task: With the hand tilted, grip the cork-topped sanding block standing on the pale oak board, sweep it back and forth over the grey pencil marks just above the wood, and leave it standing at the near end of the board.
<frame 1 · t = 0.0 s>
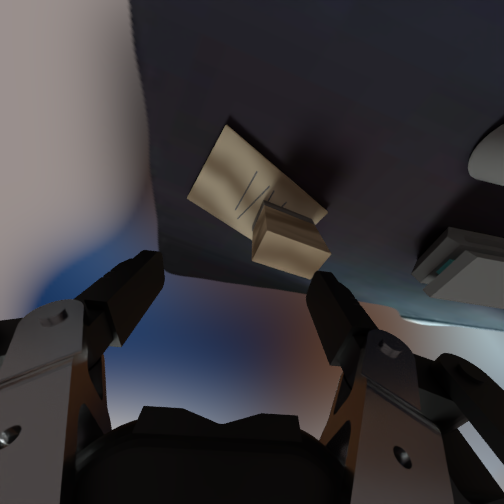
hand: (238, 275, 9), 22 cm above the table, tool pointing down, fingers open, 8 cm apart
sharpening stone: (456, 248, 35), on the table
sanding block: (281, 222, 31), point 1 cm above the table, touching board
board: (258, 202, 30), on the table
can: (493, 150, 25), on the table
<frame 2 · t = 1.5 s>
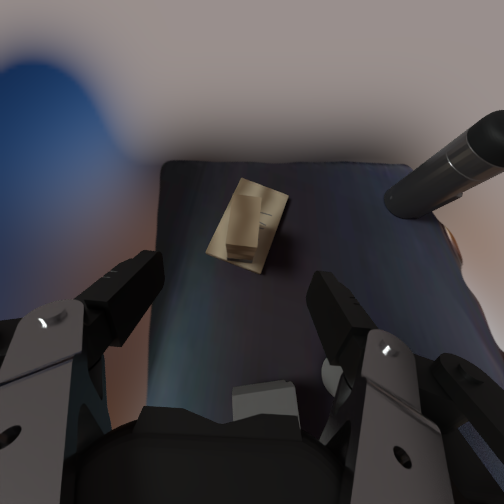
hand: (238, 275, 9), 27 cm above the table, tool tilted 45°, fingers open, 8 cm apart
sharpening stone: (261, 450, 29), on the table
sanding block: (242, 241, 38), point 1 cm above the table, touching board
board: (249, 224, 40), on the table
can: (337, 372, 33), on the table
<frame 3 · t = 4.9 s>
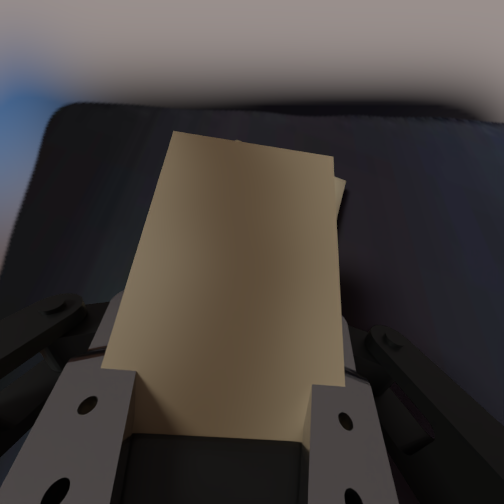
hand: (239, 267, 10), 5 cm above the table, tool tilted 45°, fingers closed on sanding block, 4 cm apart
sanding block: (235, 303, 13), point 1 cm above the table, touching board, gripper
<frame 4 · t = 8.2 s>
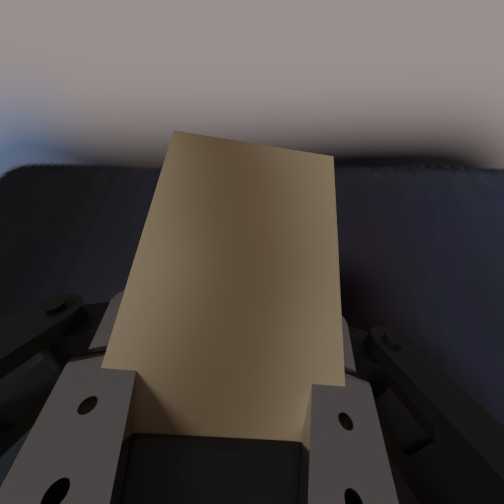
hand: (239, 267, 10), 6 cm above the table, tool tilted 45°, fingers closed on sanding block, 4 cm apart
sanding block: (235, 302, 13), point 2 cm above the table, touching gripper
when the fingers open (6 cm above the table, at t = 11.7 s): sanding block stays where it is, resting on board.
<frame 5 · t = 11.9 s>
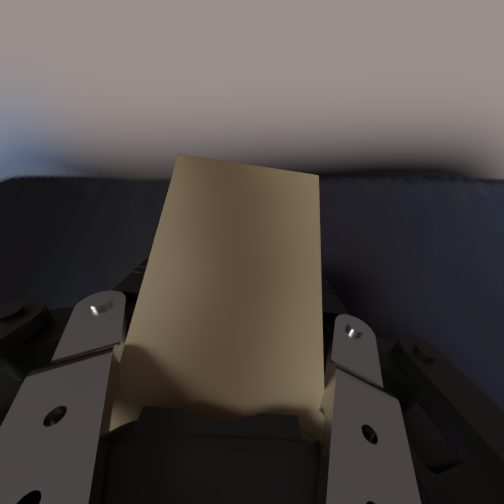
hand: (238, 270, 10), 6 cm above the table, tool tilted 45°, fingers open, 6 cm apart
sanding block: (233, 304, 14), point 1 cm above the table, touching board
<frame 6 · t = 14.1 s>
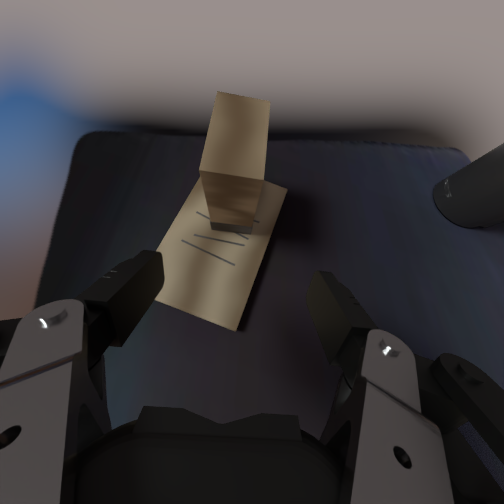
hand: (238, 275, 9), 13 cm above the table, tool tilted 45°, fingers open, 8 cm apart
sanding block: (235, 202, 24), point 1 cm above the table, touching board
board: (221, 236, 24), on the table
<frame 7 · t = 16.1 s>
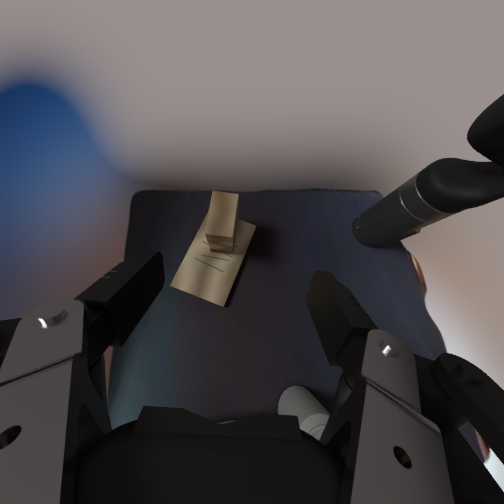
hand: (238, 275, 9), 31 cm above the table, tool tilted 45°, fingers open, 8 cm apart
sanding block: (224, 234, 41), point 1 cm above the table, touching board
board: (216, 255, 41), on the table
can: (295, 406, 34), on the table
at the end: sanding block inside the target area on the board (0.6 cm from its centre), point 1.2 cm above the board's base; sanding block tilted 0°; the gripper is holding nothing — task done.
